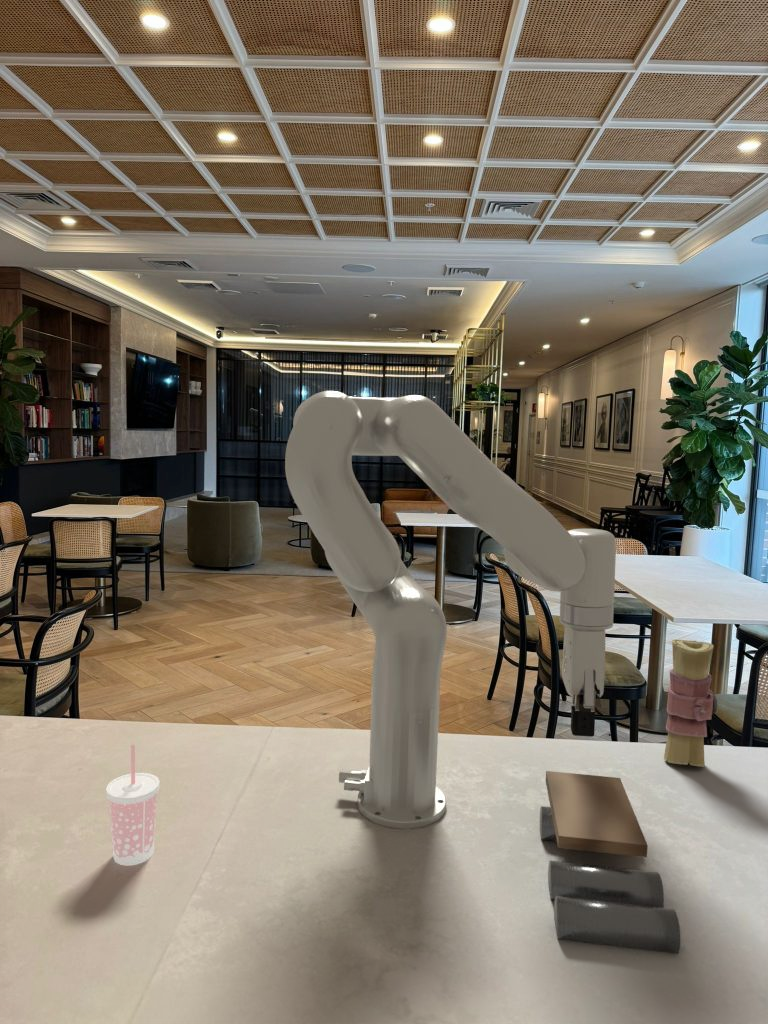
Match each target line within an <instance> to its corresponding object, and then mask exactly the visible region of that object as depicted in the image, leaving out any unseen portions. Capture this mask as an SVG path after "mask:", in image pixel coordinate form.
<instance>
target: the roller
mask: <svg viewBox="0 0 768 1024" xmlns="http://www.w3.org/2000/svg"><path fill="white" fill-rule="evenodd" d="M553 905H554V909H553V921H554V925H555V926H554V927H555V933H556V939H557V940H562V941H563V940H564V941H571V942H580V943H587V944H588V943H589V944H596V945H604V946H614V947H622V948H630V949H637V950H638V949H639V950H647V951H656V952H666V953H670V954H671V953H674V954H679V953H680V949H681V928H680V927H681V926H680V921H679V918H678V915H677V912H676V910H675V909H674V908H667V907H663V908H660V907H651V906H642V905H633V904H624V903H615V902H607V901H598V900H589V899H580V898H571V897H562V896H556V897H555V900H554V904H553Z"/></svg>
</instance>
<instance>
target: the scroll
mask: <svg viewBox="0 0 768 1024" xmlns="http://www.w3.org/2000/svg"><path fill="white" fill-rule="evenodd" d="M671 643H672V667H673V668H671V669H669V682H670V683H669V684H670V686H668V689H667V704H666V713H667V719H666V723H665V730H666V731H667V732H668V733H667V737H666V743H665V748H664V755H663V760H664V761H665V762H667V763H669V764H670V763H671V764H674V765H675V764H676V765H686V766H687V765H688V764H689V765H690V766H693V767H694V766H695V767H702V768H706V764H705V742H704V741H705V739H704V738H707V737H708V729H707V721H708V720H712V716H713V715H715V713H716V712H717V709H718V700H717V697H716V695H715V693H714V692H713V690H711V684H712V680H713V677H712V675H711V674H710V667H711V663H712V657H713V650H714V644H713V643H710V642H706V641H697V640H684V639H672V641H671Z"/></svg>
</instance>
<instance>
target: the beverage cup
mask: <svg viewBox="0 0 768 1024" xmlns="http://www.w3.org/2000/svg"><path fill="white" fill-rule="evenodd" d="M160 781H161V780H160V779H159V777H158V776H156V775H154V774H152V773H146V772H136V744H131V745H130V773H128V774H124V775H121V776H119V777H116V778H113V779H112V780H111V781H110V782H109V783H108V784H107V786H106V789H105V793H106V795H105V796H106V798H107V799H108V803H109V804H108V805H109V817H110V818H109V819H110V829H111V830H110V831H111V841H112V851H113V852H112V853H113V860H114V862H115V863H116V864H117V865H121V866H126V867H127V866H136V865H140V864H143V863H144V862H147V861H148V860H150V859H151V857H152V856H153V855H154V851H155V831H156V817H157V802H158V793H159V792H160V791H159V790H160V785H161V784H160V783H161V782H160Z"/></svg>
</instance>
